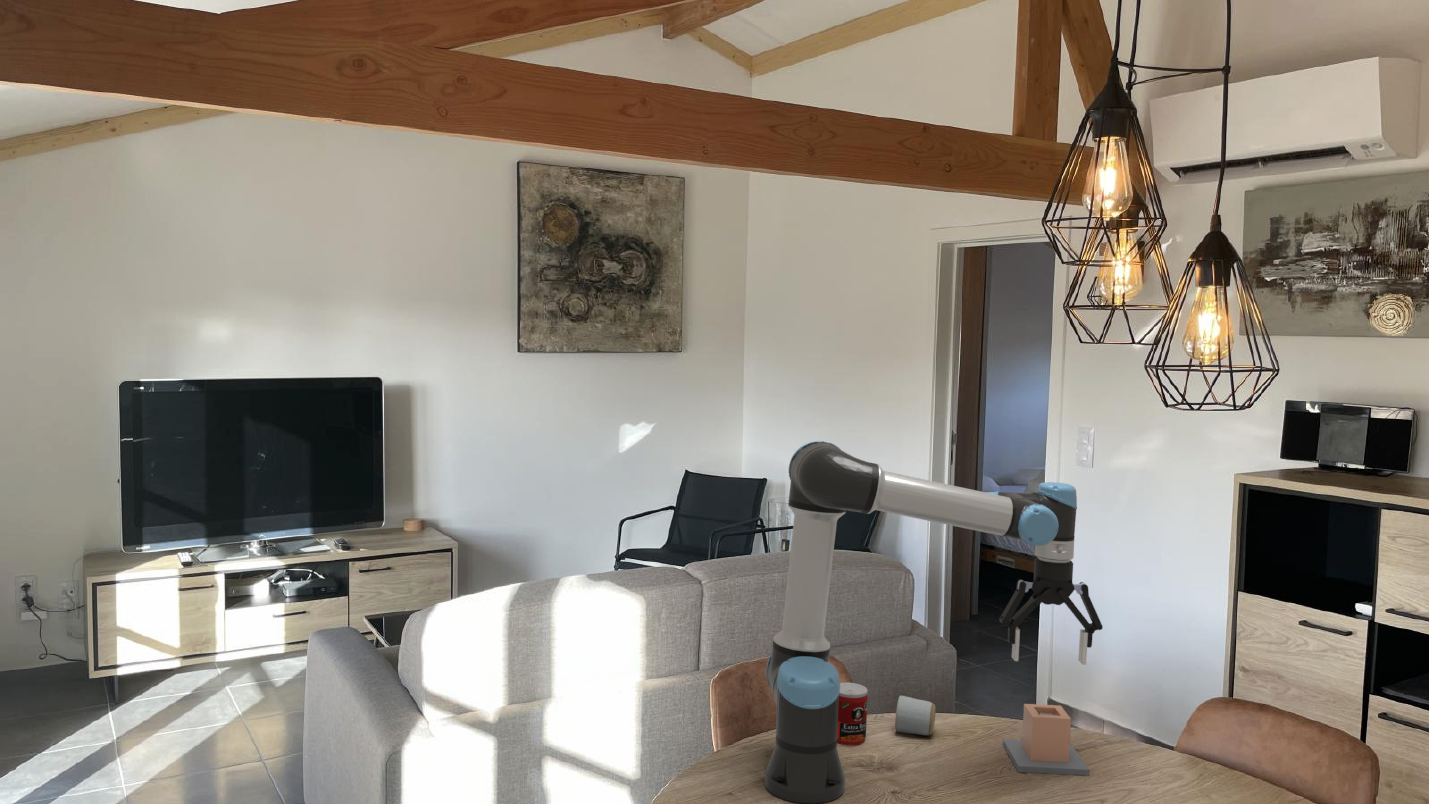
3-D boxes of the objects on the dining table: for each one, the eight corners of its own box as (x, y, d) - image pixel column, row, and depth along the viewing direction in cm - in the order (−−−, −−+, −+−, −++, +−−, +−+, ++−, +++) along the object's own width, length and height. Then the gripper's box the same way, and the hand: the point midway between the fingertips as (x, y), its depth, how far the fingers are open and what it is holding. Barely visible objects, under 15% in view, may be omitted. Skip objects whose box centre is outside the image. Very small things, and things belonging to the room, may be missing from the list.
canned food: (840, 747, 216) (842, 696, 215) (823, 733, 223) (825, 684, 223) (872, 743, 219) (874, 692, 218) (854, 729, 226) (856, 680, 226)
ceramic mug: (932, 741, 221) (934, 706, 220) (893, 736, 223) (895, 701, 223) (936, 725, 231) (937, 691, 231) (899, 720, 233) (900, 686, 233)
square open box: (1030, 760, 209) (1032, 717, 209) (1021, 745, 217) (1023, 703, 216) (1068, 762, 209) (1071, 719, 208) (1058, 747, 216) (1060, 705, 216)
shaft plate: (1018, 771, 206) (1018, 766, 206) (1002, 744, 220) (1002, 739, 220) (1089, 775, 206) (1089, 769, 206) (1069, 747, 220) (1069, 742, 219)
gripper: (996, 560, 207) (990, 663, 209) (1122, 565, 206) (1116, 669, 207) (988, 552, 215) (983, 652, 216) (1110, 557, 213) (1104, 658, 215)
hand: (1048, 661), depth 212 cm, fingers open, 13 cm apart
